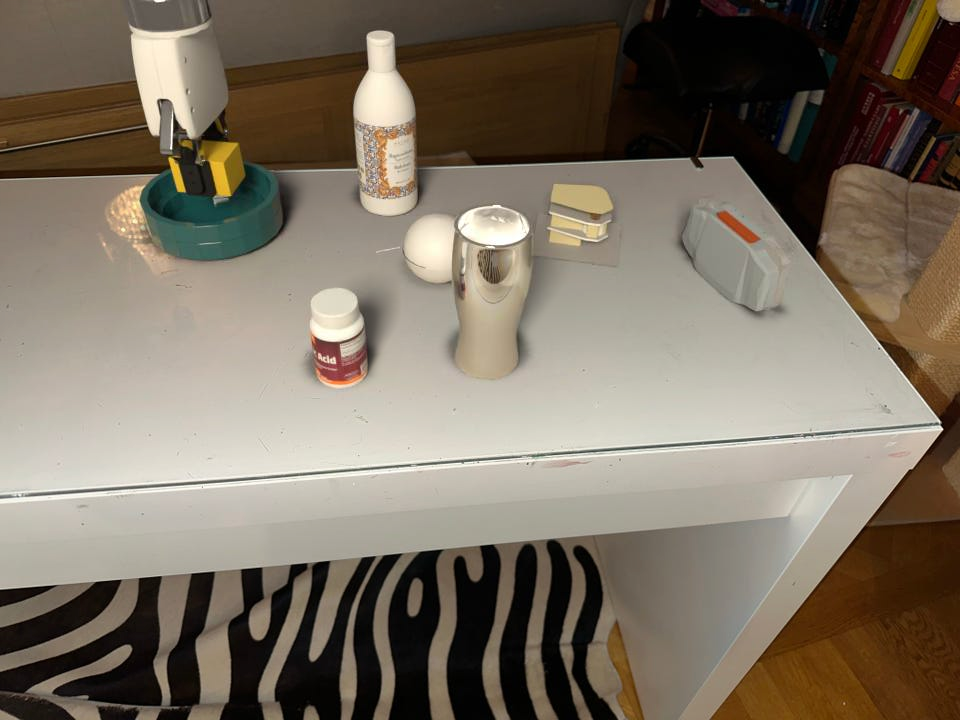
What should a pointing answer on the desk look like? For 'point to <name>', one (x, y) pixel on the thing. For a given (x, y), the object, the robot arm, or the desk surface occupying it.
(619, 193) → the desk surface
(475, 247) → the beer glass
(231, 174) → the sponge
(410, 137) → the bath foam
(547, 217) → the stacked layers on plate
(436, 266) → the lollipop
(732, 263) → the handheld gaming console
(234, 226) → the bowl
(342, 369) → the pill bottle
